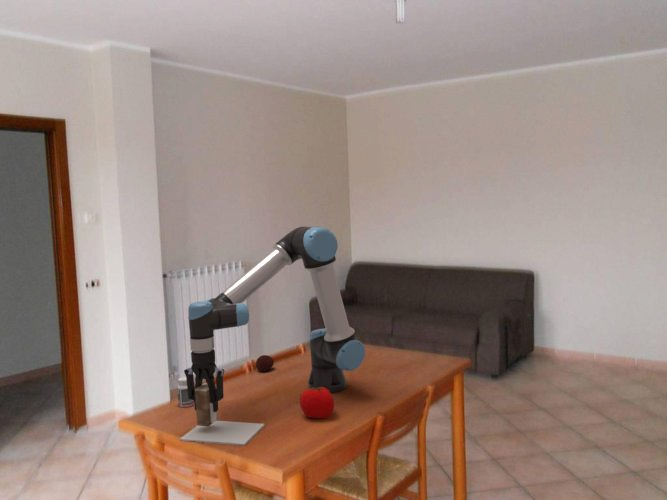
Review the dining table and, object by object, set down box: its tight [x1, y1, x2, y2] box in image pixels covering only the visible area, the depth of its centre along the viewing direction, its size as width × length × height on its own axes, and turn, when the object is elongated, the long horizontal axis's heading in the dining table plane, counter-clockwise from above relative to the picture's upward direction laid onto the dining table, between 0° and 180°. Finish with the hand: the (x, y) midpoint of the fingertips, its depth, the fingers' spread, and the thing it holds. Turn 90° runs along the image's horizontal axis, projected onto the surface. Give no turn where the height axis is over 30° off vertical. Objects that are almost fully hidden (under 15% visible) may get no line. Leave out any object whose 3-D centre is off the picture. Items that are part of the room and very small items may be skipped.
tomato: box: [299, 387, 335, 419], centre depth 199 cm, size 11×13×10 cm
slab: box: [195, 382, 218, 426], centre depth 190 cm, size 4×6×12 cm, turn 164°
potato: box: [255, 354, 275, 372], centre depth 256 cm, size 7×8×7 cm
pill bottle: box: [176, 376, 194, 408], centre depth 216 cm, size 6×6×10 cm
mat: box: [179, 420, 266, 447], centre depth 188 cm, size 22×16×1 cm
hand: (207, 420), depth 190 cm, fingers closed on slab, 4 cm apart
